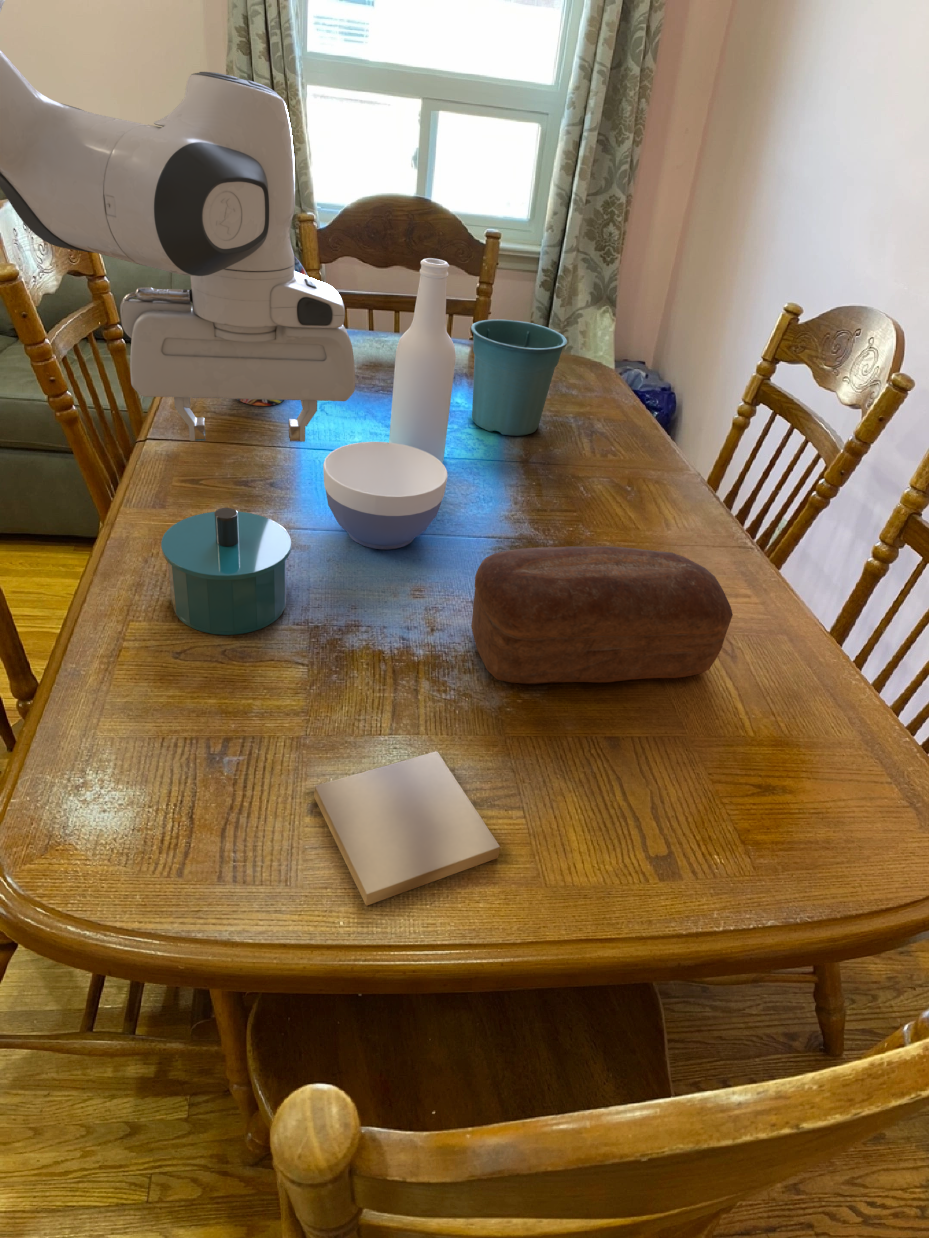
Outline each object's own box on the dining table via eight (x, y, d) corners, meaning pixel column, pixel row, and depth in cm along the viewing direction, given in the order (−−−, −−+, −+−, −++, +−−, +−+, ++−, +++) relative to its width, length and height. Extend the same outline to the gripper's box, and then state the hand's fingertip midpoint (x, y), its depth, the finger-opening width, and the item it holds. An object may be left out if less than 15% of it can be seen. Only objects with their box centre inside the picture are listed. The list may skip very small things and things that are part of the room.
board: (365, 906, 64) (367, 894, 63) (313, 797, 72) (314, 785, 71) (498, 858, 69) (500, 846, 68) (435, 761, 78) (437, 750, 77)
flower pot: (464, 400, 155) (475, 312, 145) (550, 413, 155) (567, 327, 145) (455, 433, 141) (466, 339, 132) (549, 448, 141) (567, 355, 132)
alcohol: (452, 470, 129) (478, 270, 112) (401, 476, 125) (420, 270, 108) (428, 447, 135) (448, 253, 118) (378, 452, 131) (392, 252, 114)
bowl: (445, 513, 117) (453, 451, 112) (432, 571, 104) (440, 505, 99) (335, 496, 117) (338, 434, 112) (308, 553, 104) (310, 485, 99)
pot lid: (177, 594, 82) (174, 554, 79) (150, 528, 92) (146, 491, 89) (308, 573, 88) (308, 535, 86) (270, 513, 98) (269, 477, 95)
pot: (187, 644, 87) (182, 585, 83) (162, 582, 95) (156, 526, 91) (300, 622, 92) (301, 566, 88) (267, 565, 101) (266, 512, 97)
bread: (456, 621, 96) (469, 530, 89) (674, 616, 103) (702, 531, 96) (482, 699, 86) (500, 603, 78) (724, 688, 92) (760, 598, 85)
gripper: (114, 296, 67) (132, 452, 75) (362, 310, 73) (354, 453, 81) (119, 276, 72) (136, 424, 80) (351, 290, 78) (345, 427, 86)
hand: (248, 439), depth 81 cm, fingers open, 8 cm apart
